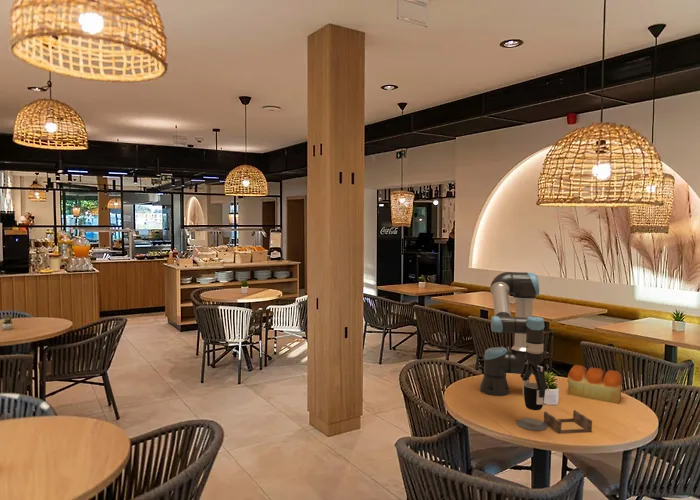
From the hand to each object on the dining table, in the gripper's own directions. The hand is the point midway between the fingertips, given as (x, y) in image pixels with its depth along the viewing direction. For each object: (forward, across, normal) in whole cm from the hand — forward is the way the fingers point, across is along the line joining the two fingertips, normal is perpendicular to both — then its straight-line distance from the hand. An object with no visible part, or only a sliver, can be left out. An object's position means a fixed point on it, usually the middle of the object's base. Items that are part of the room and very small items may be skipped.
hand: (532, 399), depth 233 cm
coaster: (+12, 0, 0) cm, 12 cm away
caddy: (+12, +4, +15) cm, 20 cm away
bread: (+12, -33, +53) cm, 64 cm away
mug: (+4, 0, 0) cm, 4 cm away
